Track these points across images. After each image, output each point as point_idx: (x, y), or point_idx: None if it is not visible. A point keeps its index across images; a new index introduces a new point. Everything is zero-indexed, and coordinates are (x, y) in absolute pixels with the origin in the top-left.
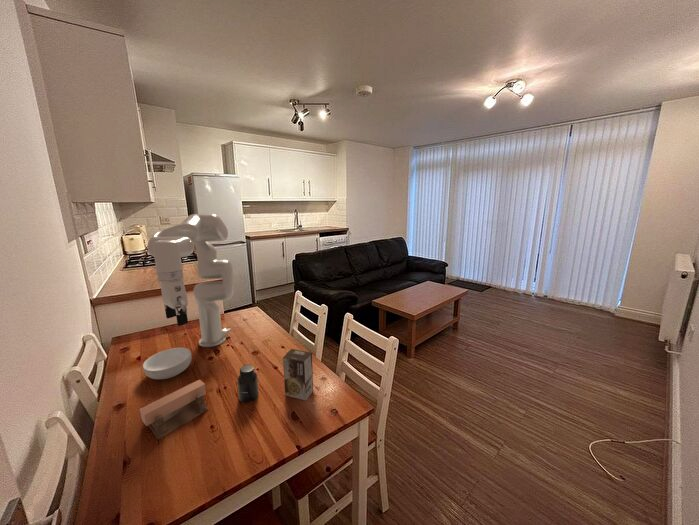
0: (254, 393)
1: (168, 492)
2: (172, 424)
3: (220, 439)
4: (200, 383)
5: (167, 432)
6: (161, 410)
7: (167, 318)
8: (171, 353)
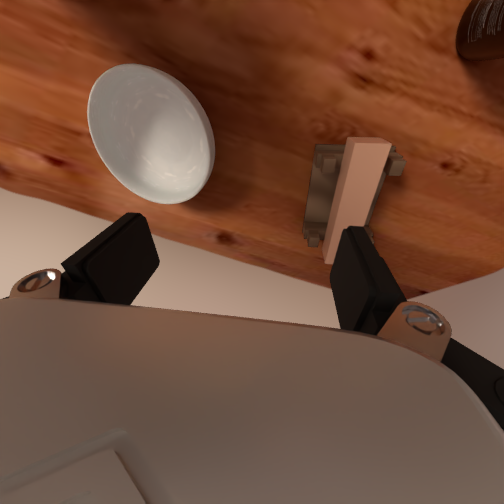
0: None
1: (465, 260)
2: None
3: (493, 173)
4: (376, 151)
5: (368, 223)
6: None
7: (156, 261)
8: (103, 113)
